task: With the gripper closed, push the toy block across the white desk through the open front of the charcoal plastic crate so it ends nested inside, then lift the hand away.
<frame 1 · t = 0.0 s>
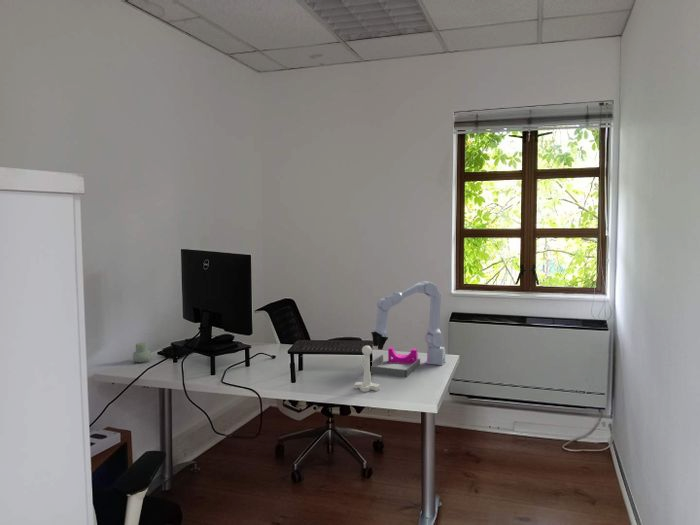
hand: (377, 347, 276), 11 cm above the table, tool pointing down, fingers open, 7 cm apart
air freshener: (142, 361, 294), on the table
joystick: (366, 390, 242), on the table
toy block: (403, 362, 288), on the table
charcoal crate: (393, 368, 275), on the table
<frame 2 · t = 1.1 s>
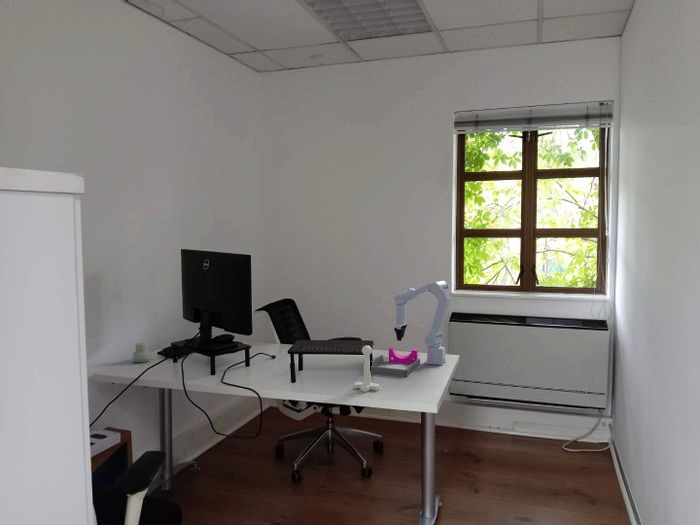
hand: (400, 338, 299), 10 cm above the table, tool pointing down, fingers open, 7 cm apart
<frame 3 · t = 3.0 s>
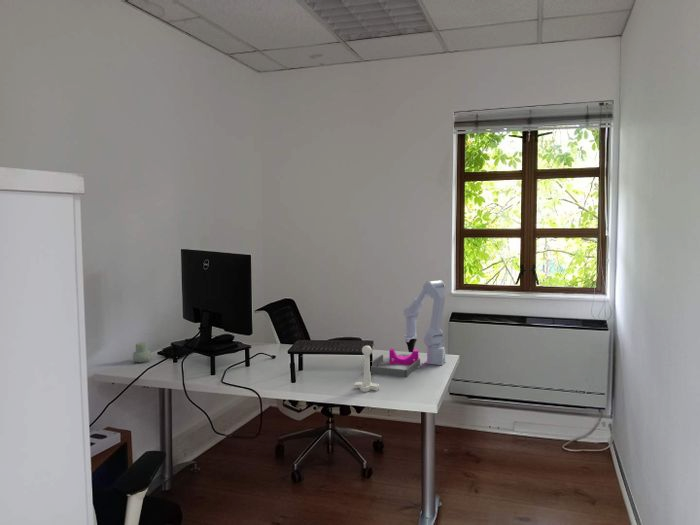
hand: (410, 352, 301), 2 cm above the table, tool pointing down, fingers closed
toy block: (404, 363, 286), on the table
everything else where it was.
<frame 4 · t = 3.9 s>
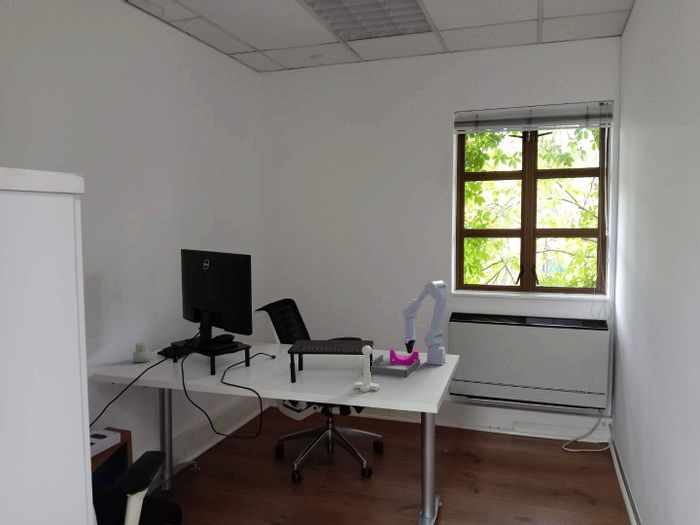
hand: (409, 353, 299), 2 cm above the table, tool pointing down, fingers closed
nothing on the table moved.
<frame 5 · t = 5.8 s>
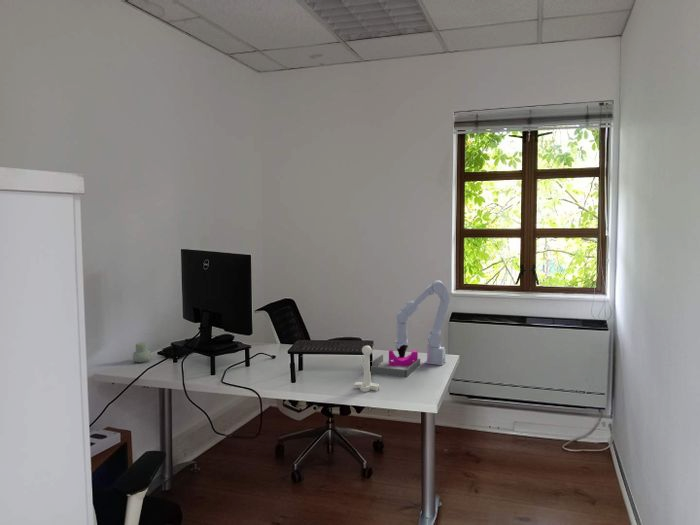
hand: (401, 358, 287), 2 cm above the table, tool pointing down, fingers closed
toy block: (403, 364, 283), on the table, touching charcoal crate, gripper
everything else where it was.
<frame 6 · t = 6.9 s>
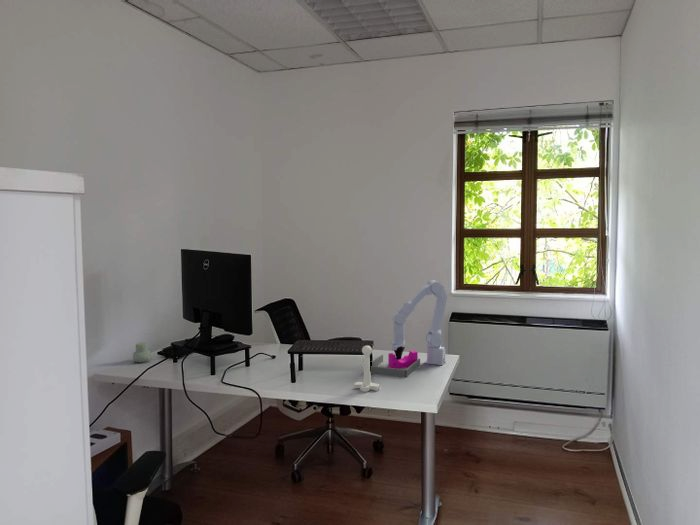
hand: (398, 360, 283), 2 cm above the table, tool pointing down, fingers closed, pressing on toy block
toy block: (401, 366, 279), on the table, touching charcoal crate, gripper
everything else where it was.
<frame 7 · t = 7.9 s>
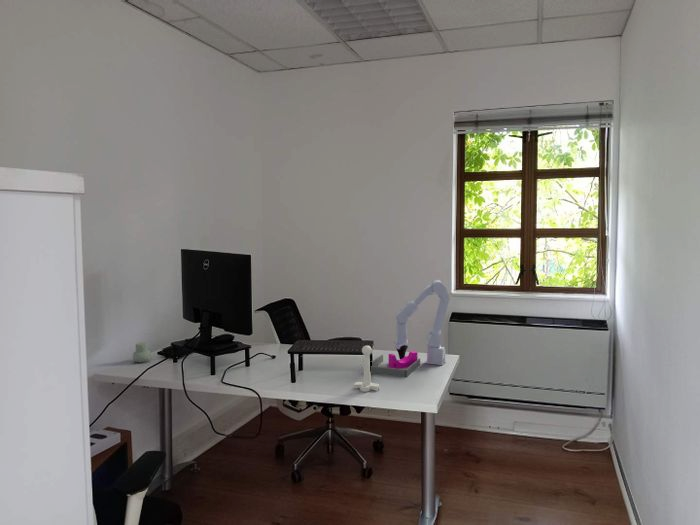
hand: (401, 359, 286), 2 cm above the table, tool pointing down, fingers closed
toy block: (401, 367, 279), on the table
everything else where it was.
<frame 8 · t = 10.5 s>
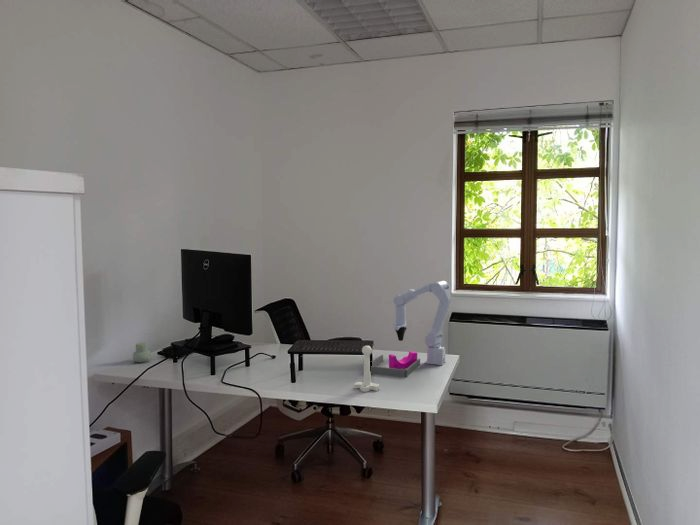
hand: (400, 340, 297), 9 cm above the table, tool pointing down, fingers closed
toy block: (401, 367, 278), on the table, touching charcoal crate
everything else where it was.
at the end: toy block inside the target area on the charcoal crate (6.2 cm from its centre), point 0.0 cm above the charcoal crate's base; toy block tilted 0°; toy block moved 10.6 cm from its start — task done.
